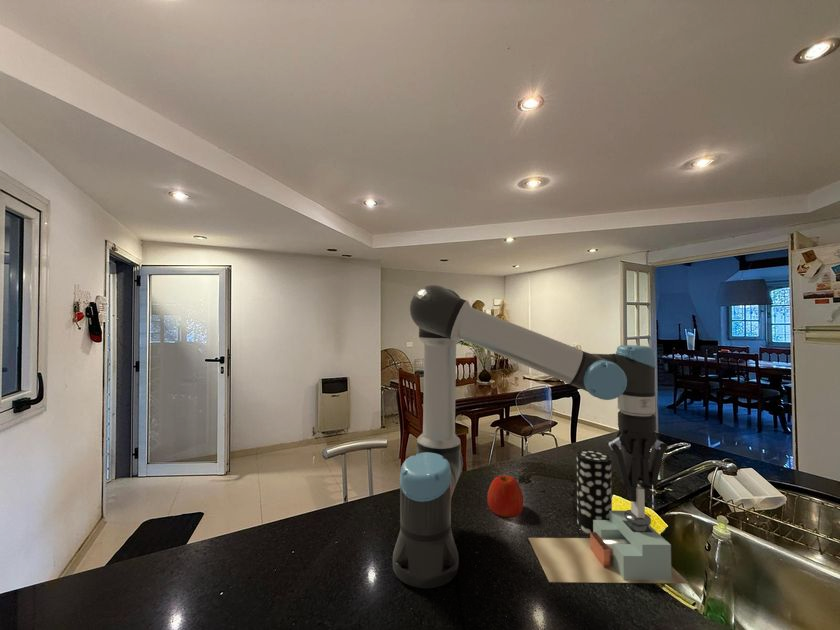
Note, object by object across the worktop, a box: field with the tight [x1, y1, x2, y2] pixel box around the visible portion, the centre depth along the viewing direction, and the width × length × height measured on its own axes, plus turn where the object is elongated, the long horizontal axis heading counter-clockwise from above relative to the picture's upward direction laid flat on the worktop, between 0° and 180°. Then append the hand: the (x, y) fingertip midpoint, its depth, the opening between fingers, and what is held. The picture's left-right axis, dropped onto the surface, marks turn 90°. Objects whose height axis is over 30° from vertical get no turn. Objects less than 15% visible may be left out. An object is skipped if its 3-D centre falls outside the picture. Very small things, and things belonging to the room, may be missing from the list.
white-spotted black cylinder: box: [576, 449, 613, 535], centre depth 93 cm, size 8×8×20 cm
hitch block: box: [593, 509, 672, 580], centre depth 81 cm, size 10×13×7 cm
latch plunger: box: [624, 509, 652, 532], centre depth 81 cm, size 5×5×6 cm
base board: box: [528, 537, 689, 584], centre depth 81 cm, size 29×15×1 cm, turn 89°
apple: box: [486, 474, 524, 518], centre depth 103 cm, size 10×10×10 cm
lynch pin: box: [589, 532, 631, 568], centre depth 81 cm, size 13×6×4 cm, turn 89°
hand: (637, 514), depth 81 cm, fingers closed
